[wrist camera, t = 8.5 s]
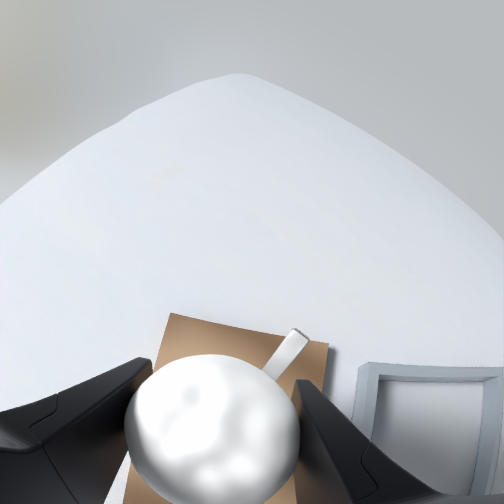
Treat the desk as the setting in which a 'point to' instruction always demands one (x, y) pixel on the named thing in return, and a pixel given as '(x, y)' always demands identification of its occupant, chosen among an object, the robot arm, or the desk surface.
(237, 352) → the board
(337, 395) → the desk surface
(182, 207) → the desk surface
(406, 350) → the desk surface
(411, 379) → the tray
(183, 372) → the milkshake
